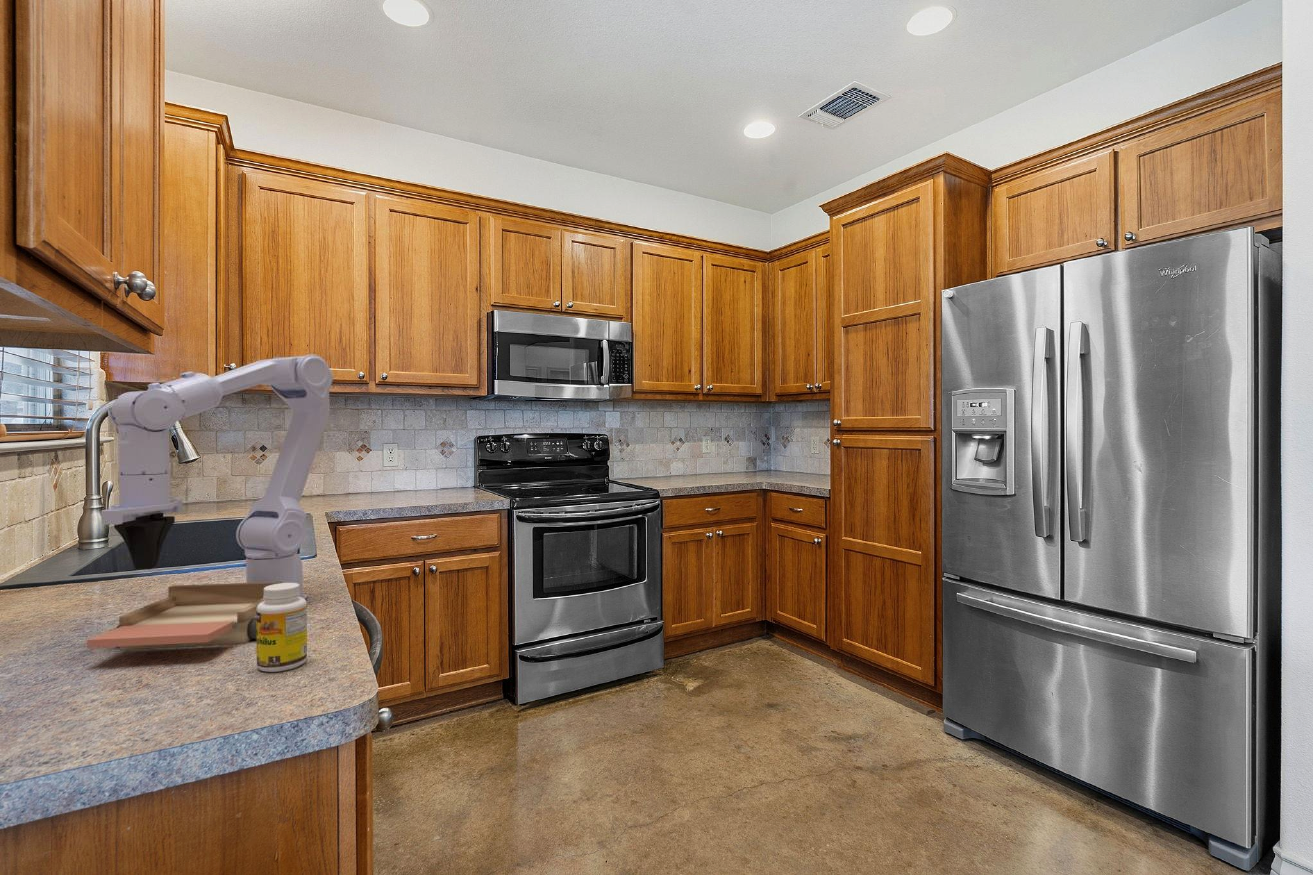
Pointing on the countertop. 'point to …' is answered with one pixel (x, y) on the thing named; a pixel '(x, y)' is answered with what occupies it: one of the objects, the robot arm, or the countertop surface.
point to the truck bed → (204, 610)
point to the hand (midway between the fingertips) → (145, 568)
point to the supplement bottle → (281, 628)
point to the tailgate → (161, 634)
